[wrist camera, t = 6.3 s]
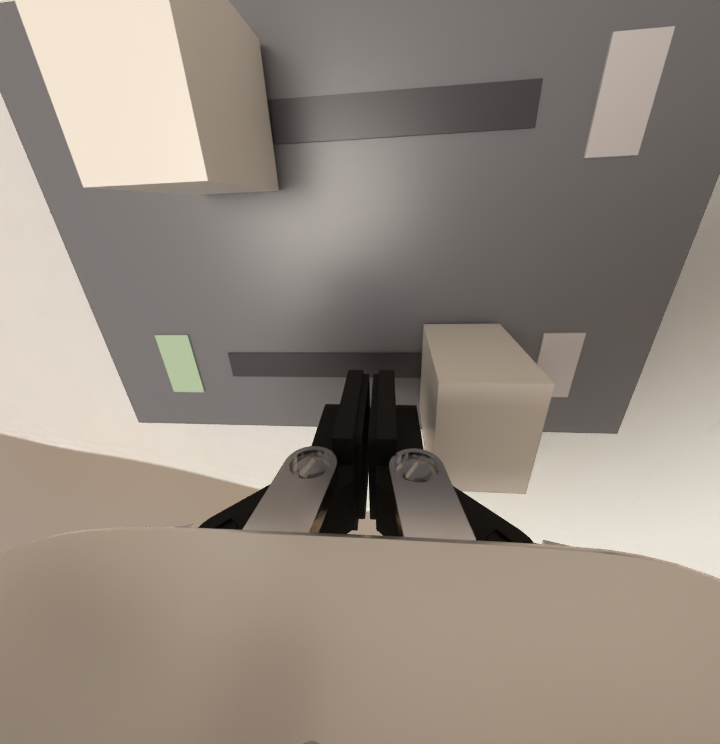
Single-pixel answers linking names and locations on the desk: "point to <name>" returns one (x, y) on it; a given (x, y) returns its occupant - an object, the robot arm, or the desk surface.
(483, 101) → the slider switch panel
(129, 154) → the block
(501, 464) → the white slider handle
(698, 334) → the desk surface
